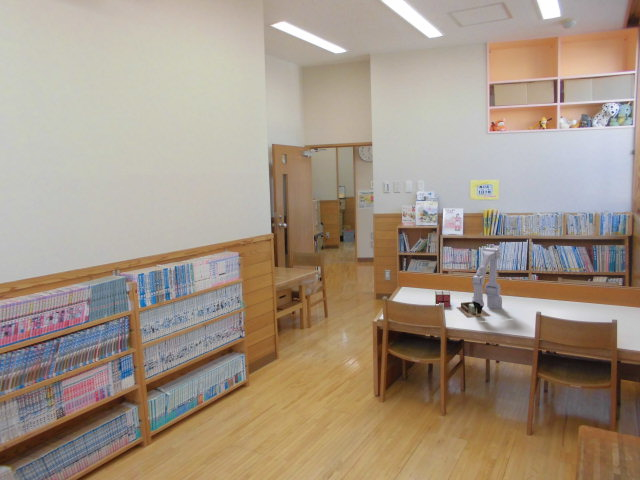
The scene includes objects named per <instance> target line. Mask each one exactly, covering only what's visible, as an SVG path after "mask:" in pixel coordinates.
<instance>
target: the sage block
mask: <svg viewBox="0 0 640 480" xmlns="http://www.w3.org/2000/svg"><path fill="white" fill-rule="evenodd" d="M469 312H470V313H476V316H477V317H476V318H481V317H480V314H478V313H477V308H476V312H475V308H474V305H473V304H469Z"/></svg>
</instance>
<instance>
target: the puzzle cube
mask: <svg viewBox="0 0 640 480" xmlns="http://www.w3.org/2000/svg"><path fill="white" fill-rule="evenodd" d="M434 298H435V302H434V303H435V305H436V304H439V303H444V306H445V307H444V308H450V307H451V293H450V291H449V290H435V297H434Z"/></svg>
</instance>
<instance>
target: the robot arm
mask: <svg viewBox="0 0 640 480" xmlns="http://www.w3.org/2000/svg"><path fill="white" fill-rule="evenodd" d="M500 254H501V252H500V248H497V247H496V248H494V247H486V246H485V247H483V249H482V256H483V257H482V261H481V265H480V266H478V268H477V271H476V273H475V275H473V276H472V281H471V283H472V286H473V296H472V299H471V302H472V303H473V305H474V308H475V312H476V308H477V313H478V314H481V311H482V309H483V307H485V302H484V299H483V298H484V294H485V295H486V298H487V299H486V301H487V302H486V306H487V308H489V309H500V310H501V309H503V298H502V295H501V293H502V289H501V285H500V284H499V283H498V281H497V278H498V277H497V276H498V260H500ZM488 266H489V268H488ZM487 268H488V269H489V274H488V277H489V278H488V282H486V283H485V280H486V274H487V272H488V269H487ZM484 284H485V285H484ZM483 290H484V291H483Z"/></svg>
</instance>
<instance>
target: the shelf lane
mask: <svg viewBox="0 0 640 480" xmlns="http://www.w3.org/2000/svg"><path fill="white" fill-rule="evenodd" d="M472 302H473V301H465V302H464V301H463V302H460V306H459V307H458V306H456V307H455V309H457V310H458V311H459V312H460V313H462V314H463V315H464V316H465V317H466V318H478V317H477V316H476V313H470V312H469V304H473V303H472ZM483 317H491V315H490V314H489V313H488V312H486V311H485V310H484V309H483V308H482V311H481V314H480V317H479V318H483Z"/></svg>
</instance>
